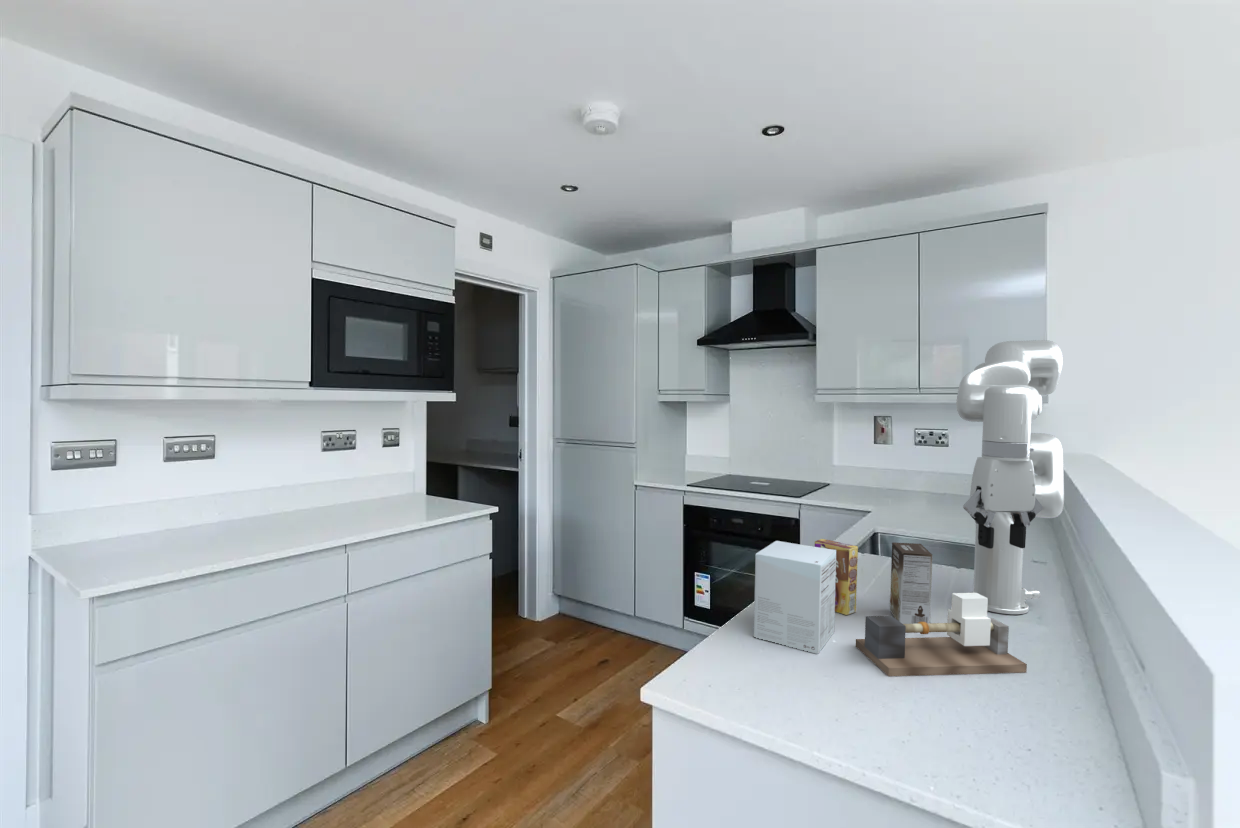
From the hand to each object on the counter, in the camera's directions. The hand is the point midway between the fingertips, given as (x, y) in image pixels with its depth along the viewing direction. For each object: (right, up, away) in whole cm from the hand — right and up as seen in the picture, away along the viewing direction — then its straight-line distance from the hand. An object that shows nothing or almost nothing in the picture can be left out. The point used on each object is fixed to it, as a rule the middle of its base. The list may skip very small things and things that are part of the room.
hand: (1001, 545), depth 110 cm
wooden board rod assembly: (-12, -21, 0) cm, 25 cm away
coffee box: (-8, -21, +19) cm, 29 cm away
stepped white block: (-6, -18, 0) cm, 19 cm away
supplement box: (-36, -21, +10) cm, 43 cm away
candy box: (-22, -20, +25) cm, 39 cm away
